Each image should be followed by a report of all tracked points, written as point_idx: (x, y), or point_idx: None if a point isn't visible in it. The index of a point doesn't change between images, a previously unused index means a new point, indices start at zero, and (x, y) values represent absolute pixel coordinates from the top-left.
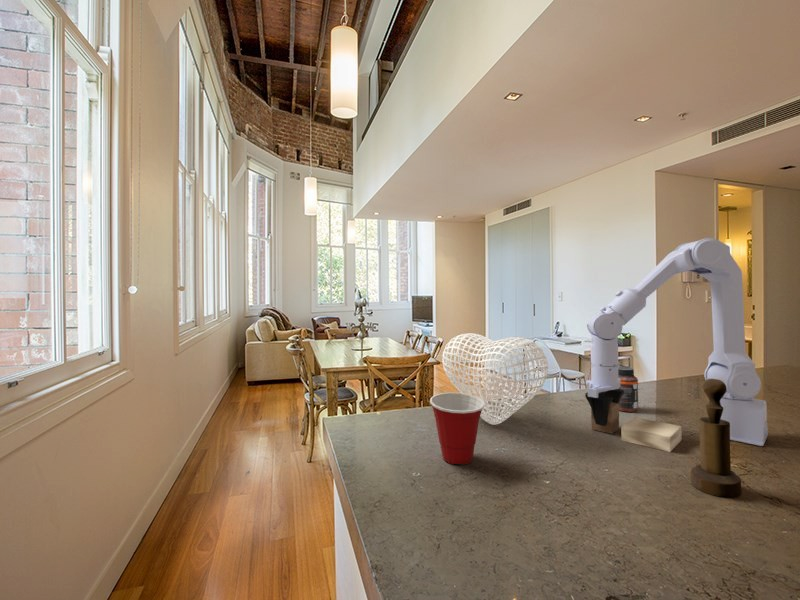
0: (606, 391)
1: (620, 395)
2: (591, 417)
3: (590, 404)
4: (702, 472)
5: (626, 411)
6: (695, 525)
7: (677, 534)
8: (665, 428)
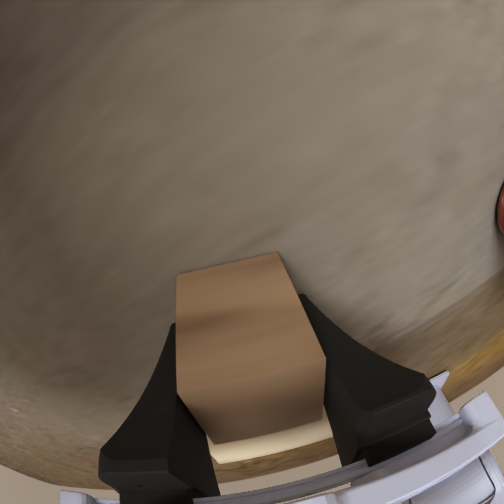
0: (351, 443)
1: (340, 458)
2: (177, 318)
3: (131, 416)
4: (115, 490)
5: (497, 215)
6: (44, 466)
7: (19, 460)
8: (282, 442)
